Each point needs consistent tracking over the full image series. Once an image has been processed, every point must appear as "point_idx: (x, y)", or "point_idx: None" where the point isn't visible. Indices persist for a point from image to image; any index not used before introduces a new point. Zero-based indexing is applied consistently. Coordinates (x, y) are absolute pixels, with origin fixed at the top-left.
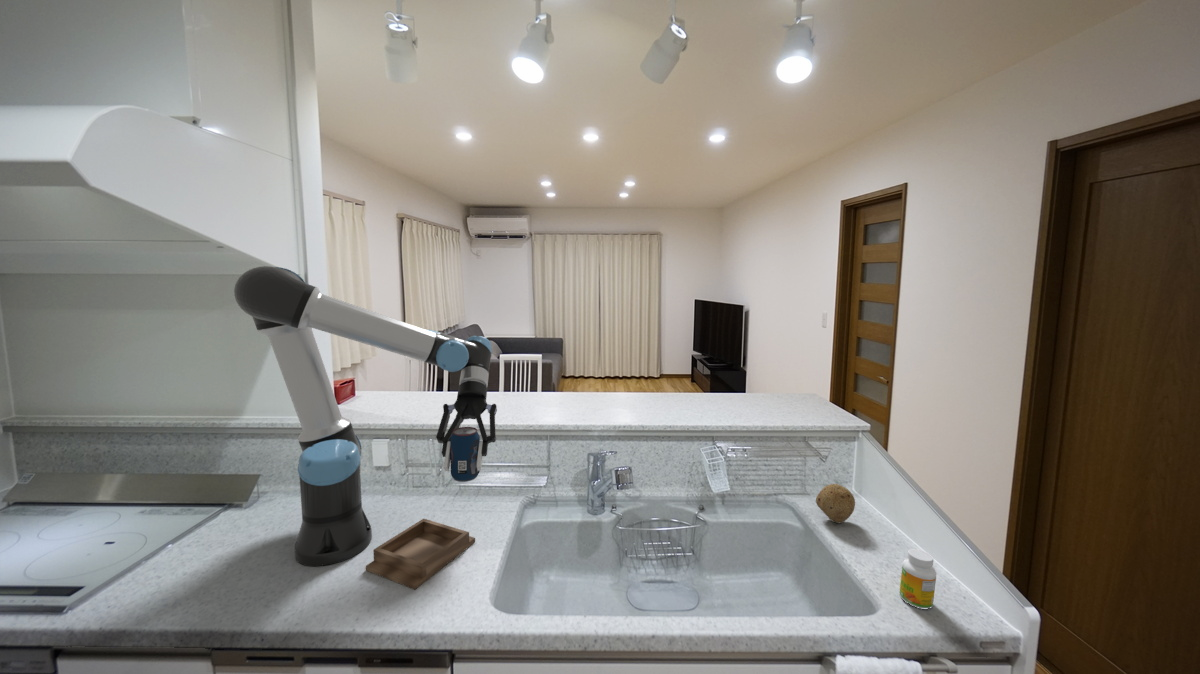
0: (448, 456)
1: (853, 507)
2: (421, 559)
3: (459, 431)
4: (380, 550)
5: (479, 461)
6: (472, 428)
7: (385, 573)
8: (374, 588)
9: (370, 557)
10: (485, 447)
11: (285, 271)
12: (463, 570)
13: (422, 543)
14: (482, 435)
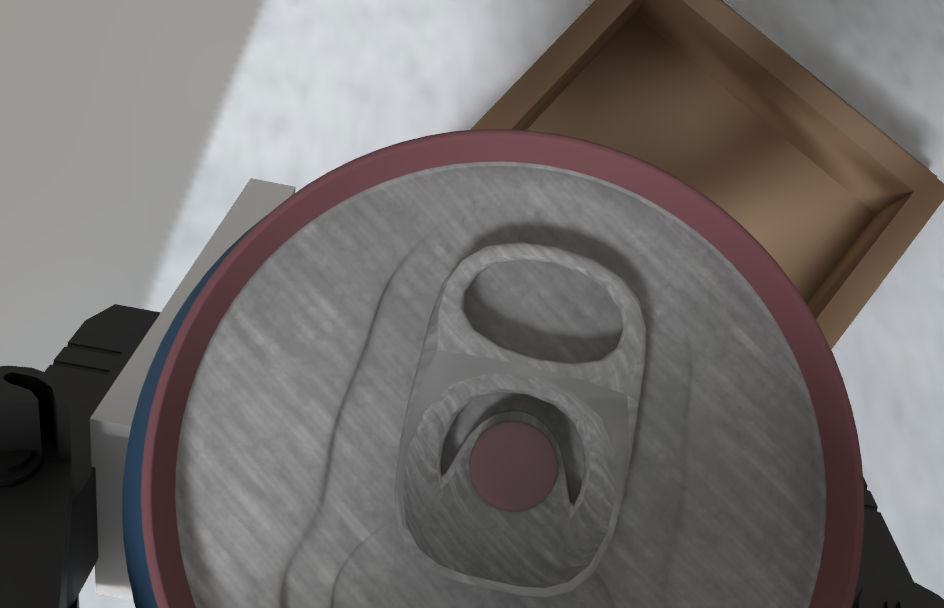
0: None
1: None
2: (660, 142)
3: (672, 553)
4: (908, 168)
5: (242, 213)
6: None
7: (820, 81)
8: (838, 34)
9: (934, 298)
10: (73, 379)
11: None
12: (428, 32)
13: None
14: (37, 542)
